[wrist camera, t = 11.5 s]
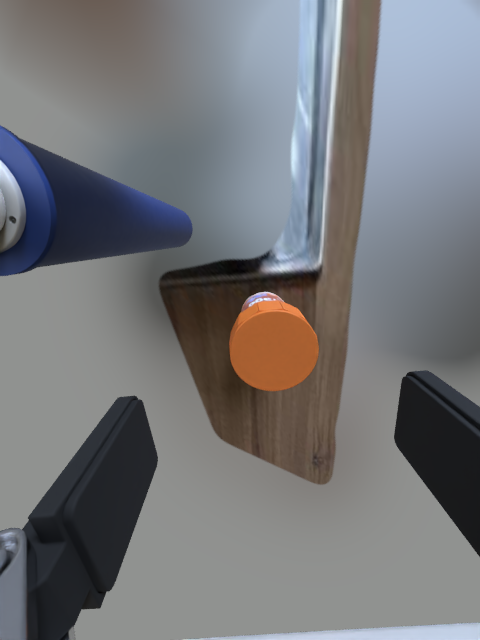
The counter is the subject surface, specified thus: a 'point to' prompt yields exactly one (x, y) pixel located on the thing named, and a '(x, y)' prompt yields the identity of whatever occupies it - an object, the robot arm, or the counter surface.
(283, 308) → the cap
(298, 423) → the counter surface
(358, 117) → the counter surface
